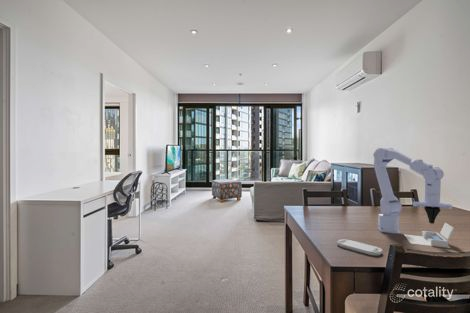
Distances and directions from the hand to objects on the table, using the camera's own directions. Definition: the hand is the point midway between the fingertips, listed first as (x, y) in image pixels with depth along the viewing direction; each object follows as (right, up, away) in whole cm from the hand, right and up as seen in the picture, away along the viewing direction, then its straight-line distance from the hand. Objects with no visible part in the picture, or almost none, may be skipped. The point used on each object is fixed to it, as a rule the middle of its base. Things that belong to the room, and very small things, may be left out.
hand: (431, 223), depth 125 cm
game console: (-37, -10, -8) cm, 39 cm away
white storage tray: (-1, -9, +2) cm, 10 cm away
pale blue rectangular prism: (+2, -9, 0) cm, 9 cm away
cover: (+5, -3, -2) cm, 6 cm away
